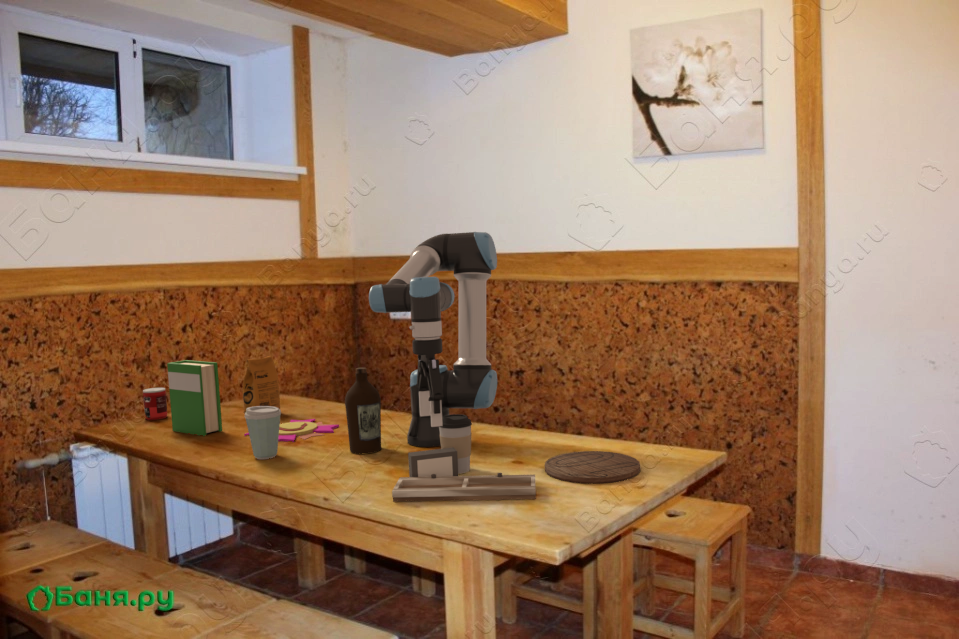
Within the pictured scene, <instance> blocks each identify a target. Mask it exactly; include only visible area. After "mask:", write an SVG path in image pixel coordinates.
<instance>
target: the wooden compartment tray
mask: <svg viewBox="0 0 959 639" xmlns="http://www.w3.org/2000/svg"><path fill="white" fill-rule="evenodd" d="M536 487H537V486H536V474H503V473H502V472H497V474H496V475H495V474H493V475H491V474H490V475H489V474H488V475H458V476H442V477H436V474H432V475H431V477H409V476H406V477H405V476H401V477H399V478H398V480H397V482H396V483H395V485H394V487H393V488H392V491H391V498H392V502H395V503H396V502H436V501H437V502H442V501H443V502H446V501H448V502H450V501H486V500H487V501H489V500H491V501H493V500H496V501H497V500H498V501H499V500H503V501H504V500H536V499H537V497H536V495H537V494H536V491H537V490H536Z"/></svg>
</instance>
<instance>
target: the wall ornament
mask: <svg viewBox="0 0 959 639" xmlns="http://www.w3.org/2000/svg"><path fill="white" fill-rule="evenodd" d="M315 420H316V418H309V419H303V420H299V419H290V421H289V422H281V423H282V424H281V423H280V425H279V437H278V442H288V441H292V442H291V443H295V441H294V440H296V438H298V437H299V436H300V438H299V439H301V438H302V439H301V440H303V439H304V440H303V441H306V440H307V439H309V437H310V438H311V436H312V437H319V436H325V434H334V430H335V429H336V428H337V429H338V428H339V427H340V424H329V423H328V424H326V423H323V421H319V422H316V421H315ZM313 421H315V422H313ZM314 432H316V433H314ZM246 435H249V432H246V433H244V436H243V437H247V436H246ZM296 436H297V437H296ZM248 438H249V439H250V436H248Z"/></svg>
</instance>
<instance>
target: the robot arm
mask: <svg viewBox="0 0 959 639" xmlns="http://www.w3.org/2000/svg"><path fill="white" fill-rule="evenodd" d="M495 245H496V244H495V242H494V239H493V237H492V236H491V234H490V233H488V232H486V231H485V232H481V231H473V232H471V231H470V232H469V231H468V232H456V233H454V232H453V233H441V234H438V235H434V236H431V237H430V238H427V239H426V240H424V241H423V242H420V243H419V244H418V245H417V246H416V247H414V249H412V251H411V252H410V256H409V259H408V260H407V261H406V262H405V263H404V264H403V266H401V268H400V269H398V271H397V272H396V273H395V274H394V275H393V276H392V277H391V278H390V279H389V280H388V282H386V283H385V284H382V283H380V284H375V285H372V286H371V287H370V289H369V293H368V303H369V306H370V307H369V308H370V309H371V310H372V312H374V313H383V314H388V313H391V314H392V313H410V314H411V315H410V317H411V325H410V326H409V330H411V333H412V334H411V335H412V336H411V337H412V338H414V339H413V340H412V342H411V343H412V354H413V355H416V356H417V369H414V371H412V372H411V374H410V376H409V377H410V378H409V379H410V381H409V382H410V384H409V392H410V404H411V405H410V406H411V421H410V424H409V427H408V432H407V436H406V438H407V444H409V445H411V446H414V447H420V448H421V447H424V448H427V447H428V448H430V447H431V448H432V447H441V443H440V430H439V426H443V425H442V417H443V416H446V415H450V409H474V410H478V409H487V408H489V407H491V406H492V405H493V403H494V401H495V398H496V394H497V390H498V388H497V387H498V374H497V371H496V370H494V369H492V363H491V362H490V361H489V360H488V359H487V281H488V280H489V279H490V278H491V277H492V271H494V270H496V269H497V267H498V257H497V249H496V246H495ZM437 272H453V277H454V278H455V279H456V280H457V281H458V327H457V328H458V341H457V342H458V352H457V353H458V355H457V356H458V358H457V360H456V361H455V362H454V363H453V365H452V366H453V369H452V370H449V368H448V366H447V365H445V364H440V360H439V358H438V359H436V357H435V355H438V354H442V353H443V339H442V338H441V336H443V327H442V323H443V322H442V312H444V311H446V310H448V309H449V308H450V307H451V306H452V305H453V304H454V301H455V292H454V289H453V288H452V287H451V285H449V284H448V283H445V282H443V281H442V282H441V281H440V278H439V277H437V276H433V275H434V274H435V273H437Z"/></svg>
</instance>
